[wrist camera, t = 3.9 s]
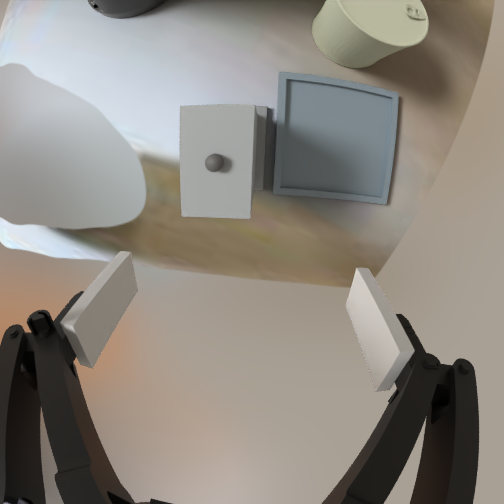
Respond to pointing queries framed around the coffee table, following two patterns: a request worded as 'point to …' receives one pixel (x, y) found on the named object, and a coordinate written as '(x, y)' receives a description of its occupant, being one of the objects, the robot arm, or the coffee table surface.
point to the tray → (334, 139)
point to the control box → (221, 159)
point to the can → (368, 29)
